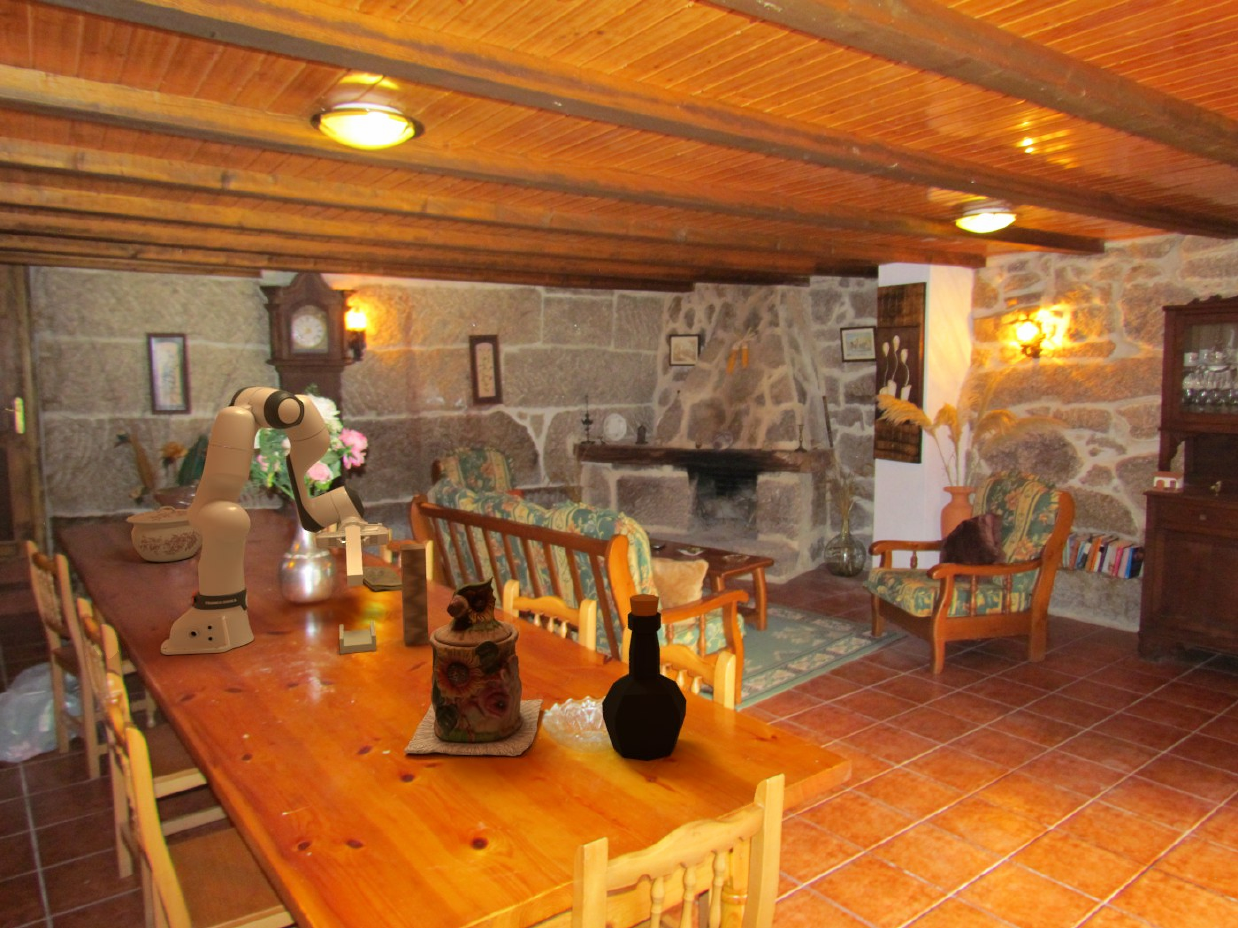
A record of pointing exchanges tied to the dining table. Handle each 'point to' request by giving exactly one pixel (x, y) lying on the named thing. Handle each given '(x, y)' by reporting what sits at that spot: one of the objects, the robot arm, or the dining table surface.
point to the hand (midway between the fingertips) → (353, 544)
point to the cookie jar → (476, 683)
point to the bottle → (644, 692)
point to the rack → (357, 640)
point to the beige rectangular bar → (354, 556)
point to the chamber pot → (164, 535)
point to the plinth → (414, 594)
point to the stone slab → (381, 578)
